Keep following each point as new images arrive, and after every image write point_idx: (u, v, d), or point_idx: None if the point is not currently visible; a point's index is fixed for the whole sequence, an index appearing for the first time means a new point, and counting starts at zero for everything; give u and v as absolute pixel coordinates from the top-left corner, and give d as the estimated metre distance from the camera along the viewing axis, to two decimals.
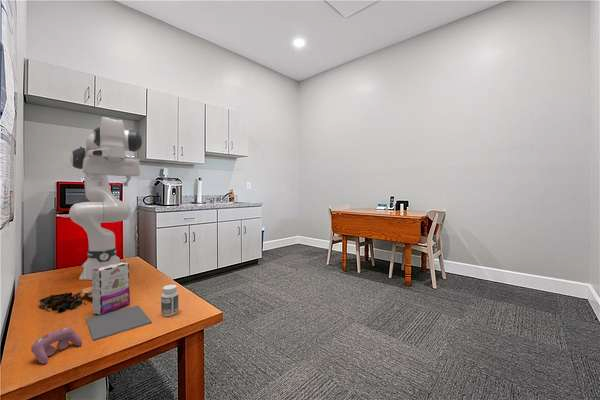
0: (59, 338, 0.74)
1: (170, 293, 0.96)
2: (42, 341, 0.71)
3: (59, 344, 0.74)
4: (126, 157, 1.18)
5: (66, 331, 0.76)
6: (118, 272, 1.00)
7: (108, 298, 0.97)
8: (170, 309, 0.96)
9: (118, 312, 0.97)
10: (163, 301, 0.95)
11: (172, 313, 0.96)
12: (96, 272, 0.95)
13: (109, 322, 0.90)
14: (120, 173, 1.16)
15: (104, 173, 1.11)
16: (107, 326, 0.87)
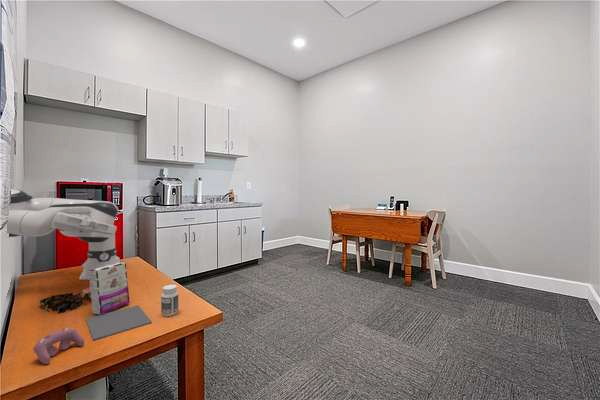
0: (61, 338, 0.74)
1: (170, 293, 0.96)
2: (44, 341, 0.70)
3: (61, 344, 0.74)
4: None
5: (68, 331, 0.76)
6: (115, 271, 1.00)
7: (107, 298, 0.97)
8: (170, 309, 0.96)
9: (118, 312, 0.97)
10: (163, 301, 0.95)
11: (172, 313, 0.96)
12: (92, 273, 0.95)
13: (109, 322, 0.90)
14: (96, 221, 1.06)
15: (79, 217, 1.02)
16: (107, 326, 0.87)
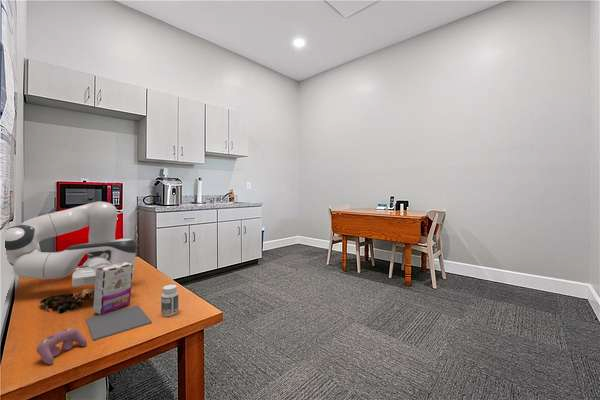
0: (64, 338, 0.74)
1: (170, 293, 0.96)
2: (47, 342, 0.70)
3: (64, 344, 0.74)
4: None
5: (71, 331, 0.75)
6: (121, 272, 1.00)
7: (109, 298, 0.97)
8: (170, 309, 0.96)
9: (118, 312, 0.97)
10: (163, 301, 0.95)
11: (172, 313, 0.96)
12: (100, 272, 0.95)
13: (109, 322, 0.90)
14: None
15: (95, 274, 1.02)
16: (107, 326, 0.87)
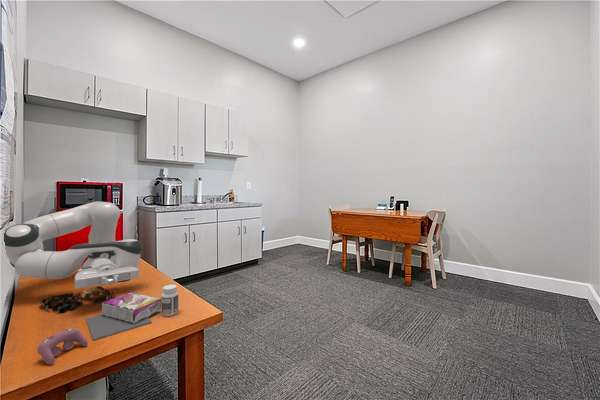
0: (65, 339, 0.74)
1: (170, 293, 0.96)
2: (48, 342, 0.70)
3: (65, 345, 0.74)
4: None
5: (72, 331, 0.75)
6: None
7: None
8: (170, 309, 0.96)
9: None
10: (163, 301, 0.95)
11: (172, 313, 0.96)
12: (131, 317, 0.89)
13: (109, 322, 0.90)
14: (116, 272, 1.03)
15: (98, 275, 0.99)
16: (107, 326, 0.87)
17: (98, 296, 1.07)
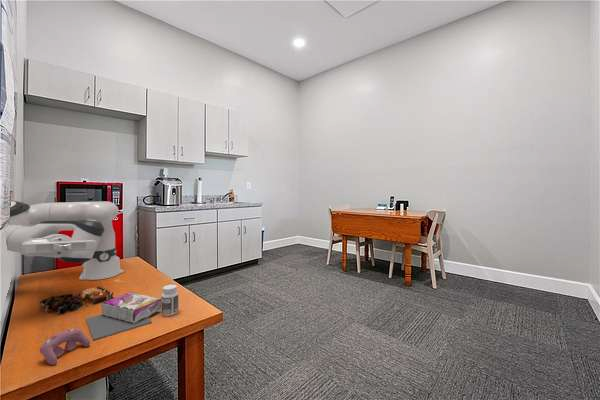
0: (67, 339, 0.73)
1: (170, 293, 0.96)
2: (50, 342, 0.70)
3: (67, 345, 0.74)
4: None
5: (74, 332, 0.75)
6: None
7: None
8: (170, 309, 0.96)
9: None
10: (163, 301, 0.95)
11: (172, 313, 0.96)
12: (131, 317, 0.89)
13: (109, 322, 0.90)
14: (70, 241, 0.98)
15: (49, 242, 0.93)
16: (107, 326, 0.87)
17: (98, 296, 1.07)
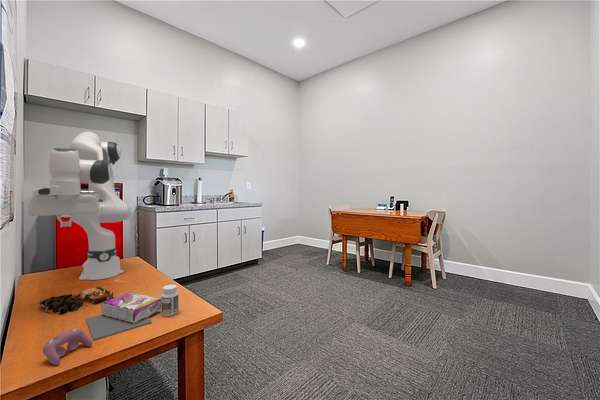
0: (70, 339, 0.73)
1: (170, 293, 0.96)
2: (53, 342, 0.70)
3: (69, 345, 0.74)
4: (82, 193, 1.04)
5: (76, 332, 0.75)
6: None
7: None
8: (170, 309, 0.96)
9: None
10: (163, 301, 0.95)
11: (172, 313, 0.96)
12: (131, 317, 0.89)
13: (109, 322, 0.90)
14: (74, 212, 1.01)
15: (54, 213, 0.97)
16: (107, 326, 0.87)
17: (98, 296, 1.07)
